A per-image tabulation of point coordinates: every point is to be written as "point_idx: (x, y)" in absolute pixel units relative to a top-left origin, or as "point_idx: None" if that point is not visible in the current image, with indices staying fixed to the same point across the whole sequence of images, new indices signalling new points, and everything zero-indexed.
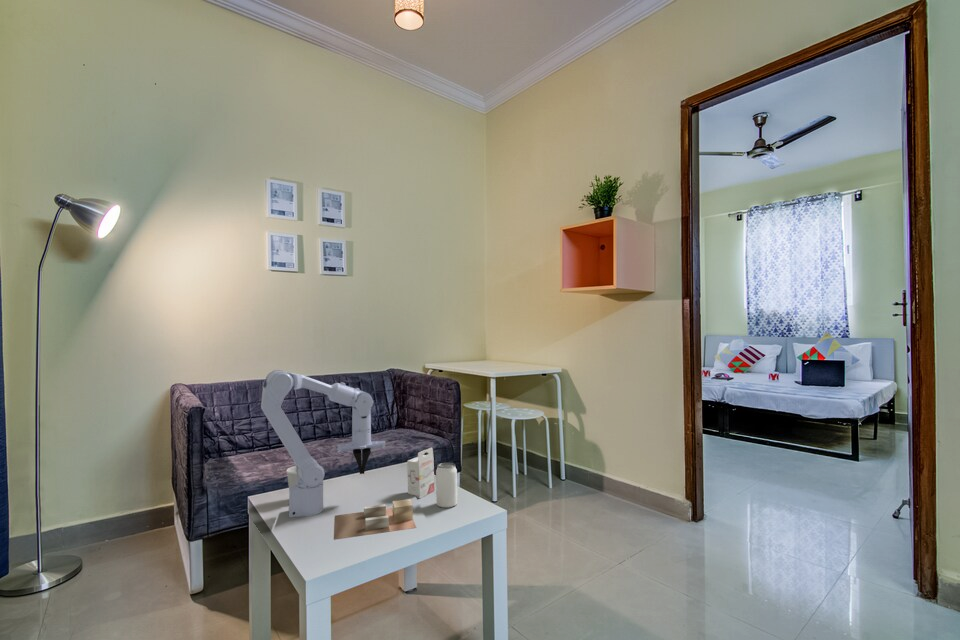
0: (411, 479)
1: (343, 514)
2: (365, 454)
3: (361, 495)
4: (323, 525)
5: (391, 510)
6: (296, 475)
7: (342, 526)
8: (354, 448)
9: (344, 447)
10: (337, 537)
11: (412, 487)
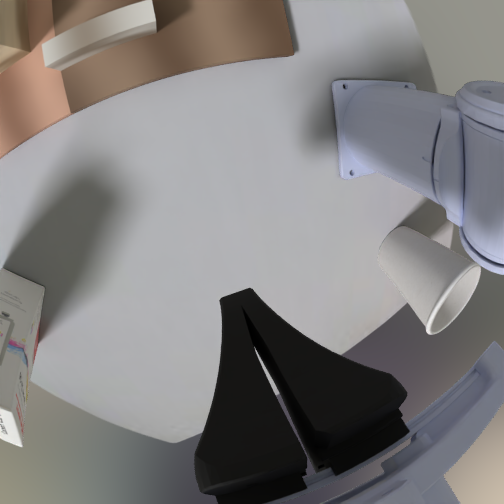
0: (7, 329)
1: (259, 57)
2: (254, 441)
3: (226, 292)
4: (316, 15)
5: (39, 102)
6: (465, 261)
7: None
8: (409, 449)
9: (493, 397)
10: None
11: (13, 303)
